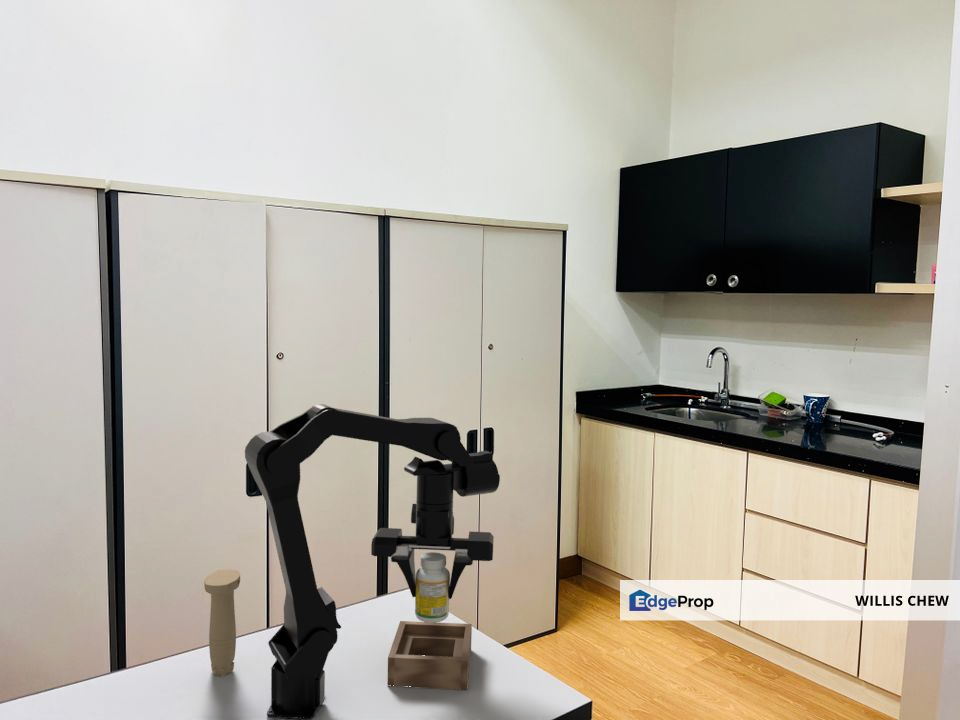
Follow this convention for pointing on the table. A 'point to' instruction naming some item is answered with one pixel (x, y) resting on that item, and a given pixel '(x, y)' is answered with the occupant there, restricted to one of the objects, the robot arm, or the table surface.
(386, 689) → the table surface
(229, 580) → the handle
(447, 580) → the supplement bottle
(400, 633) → the walnut box
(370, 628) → the table surface
